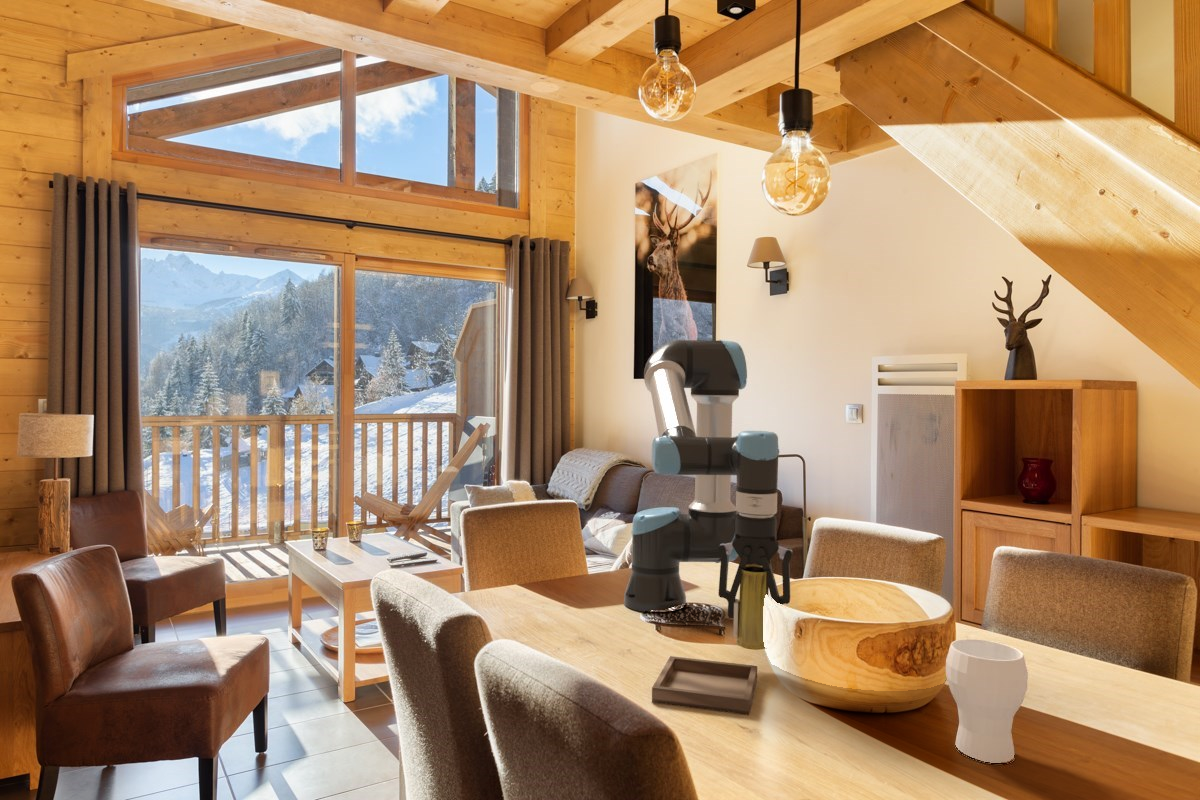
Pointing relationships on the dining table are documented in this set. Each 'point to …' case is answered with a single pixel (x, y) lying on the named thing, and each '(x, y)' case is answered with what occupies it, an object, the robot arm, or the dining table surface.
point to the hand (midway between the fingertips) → (753, 636)
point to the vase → (752, 607)
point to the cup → (986, 696)
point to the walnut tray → (706, 685)
